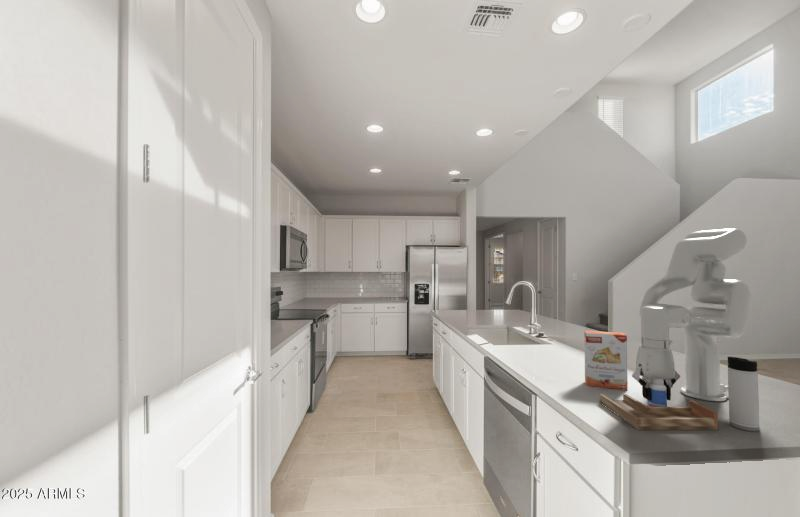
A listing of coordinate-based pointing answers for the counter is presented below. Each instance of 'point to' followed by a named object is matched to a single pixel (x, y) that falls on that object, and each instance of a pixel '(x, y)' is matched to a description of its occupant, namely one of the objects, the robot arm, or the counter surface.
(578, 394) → the counter surface
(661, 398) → the pill bottle
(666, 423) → the channel track
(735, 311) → the robot arm
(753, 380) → the travel mug
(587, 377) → the cracker box
